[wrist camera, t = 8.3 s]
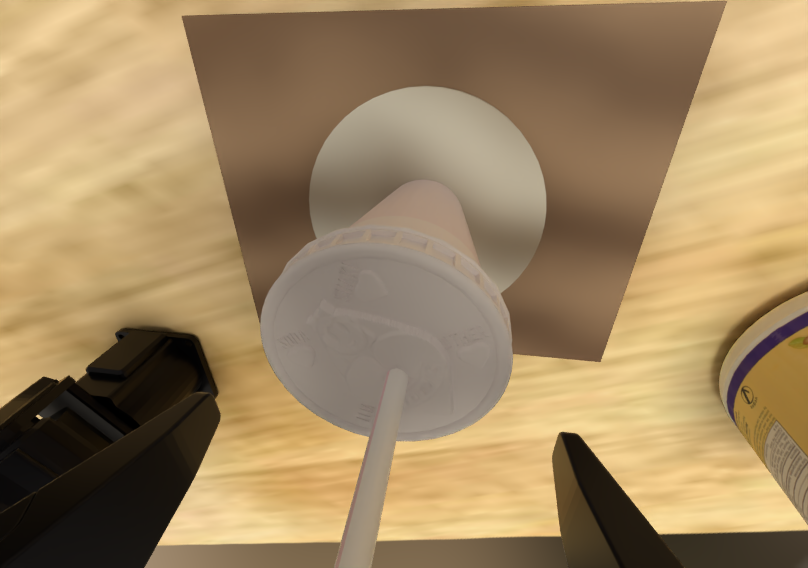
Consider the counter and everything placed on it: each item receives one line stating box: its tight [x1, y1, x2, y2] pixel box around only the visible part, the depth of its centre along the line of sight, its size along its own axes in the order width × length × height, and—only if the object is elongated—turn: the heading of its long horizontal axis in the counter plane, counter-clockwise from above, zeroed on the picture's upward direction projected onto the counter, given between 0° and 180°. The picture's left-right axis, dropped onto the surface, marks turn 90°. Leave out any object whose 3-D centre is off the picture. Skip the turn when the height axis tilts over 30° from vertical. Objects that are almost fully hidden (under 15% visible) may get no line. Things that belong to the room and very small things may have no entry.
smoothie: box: [260, 179, 513, 568], centre depth 11 cm, size 6×6×14 cm
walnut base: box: [182, 1, 727, 362], centre depth 18 cm, size 16×20×3 cm
